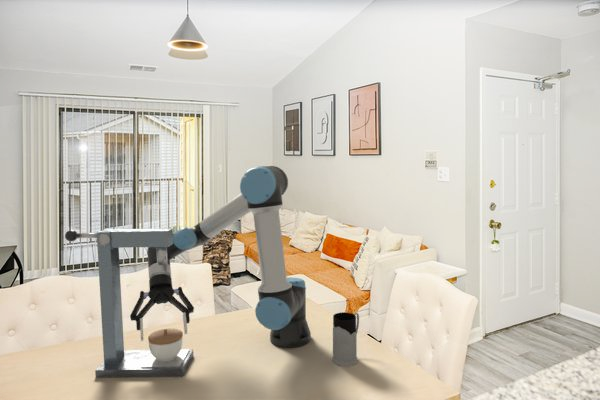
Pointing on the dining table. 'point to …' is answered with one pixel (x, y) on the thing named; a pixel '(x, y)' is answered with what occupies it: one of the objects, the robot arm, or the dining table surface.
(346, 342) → the grey mug
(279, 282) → the robot arm
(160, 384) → the dining table surface
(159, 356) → the lidded jar
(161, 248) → the arbor press
